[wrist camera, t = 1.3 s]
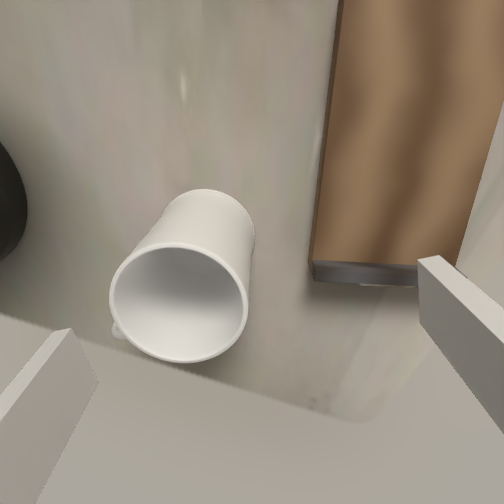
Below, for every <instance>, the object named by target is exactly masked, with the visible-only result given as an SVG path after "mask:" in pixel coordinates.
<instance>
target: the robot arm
mask: <svg viewBox="0 0 504 504" xmlns="http://www.w3.org/2000/svg"><path fill="white" fill-rule="evenodd" d="M26 216H27V203H26V195H25V191H24V186H23V183H22V180H21V177H20V175H19V172H18V170H17V168H16V166H15V164H14V162H13V160H12V159H11V157H10V155H9V154H8V152H7V151H6V149H5V148H4V147H3V145H2V144H1V143H0V260H2V259H3V258H5V257H6V256H7V255H8V254H9V253H10V252H11V251H12V250H13V249H14V248H15V247H16V245H17V244H18V242H19V240H20V238H21V236H22V234H23V231H24V228H25V223H26ZM417 266H418V289H419V313H420V324H421V325H422V326H423V328H424V329H425V330H426V332H427V333H428V334H429V336H430V337H431V338H432V340H433V341H434V342H435V344H436V345H437V346H438V347H439V349H440V350H441V351H442V353H443V354H444V355H445V356H446V358H447V359H448V361H449V362H450V363H451V365H452V366H453V367H454V369H455V370H456V371H457V373H458V374H459V375H460V377H461V378H462V379H463V381H464V382H465V383H466V385H467V386H468V387H469V389H470V390H471V391H472V393H473V394H474V395H475V397H476V398H477V399H478V400H479V402H480V403H481V404H482V406H483V407H484V408H485V410H486V411H487V412H488V414H489V415H490V416H491V418H492V419H493V420H494V422H495V423H496V424H497V426H498V427H499V428H500V430H501V431H502V432H503V434H504V309H503V308H502V307H500V306H499V305H498V304H497V303H496V302H495V301H493V300H492V299H491V298H490V297H489V296H487V295H486V294H485V293H484V292H483V291H481V290H480V289H479V288H478V287H477V286H475V285H474V284H473V283H472V282H471V281H469V280H468V279H467V278H466V277H465V276H463V275H462V274H461V273H460V272H459V271H457V270H456V269H455V268H454V267H453V266H452V265H450V264H449V263H448V262H447V261H446V260H444V259H443V258H442V257H441V256H440V255H437V256H432V257H427V258H422V259H417ZM98 383H99V381H98V379H97V377H96V375H95V373H94V371H93V369H92V367H91V365H90V363H89V361H88V360H87V357H86V355H85V353H84V351H83V349H82V348H81V345H80V343H79V341H78V339H77V338H76V336H75V334H74V332H73V330H72V328H68V329H63V330H58V331H53V332H52V334H51V335H50V336H49V337H48V338H47V339H46V341H45V342H44V343H43V344H42V346H41V347H40V348H39V349H38V350H37V351H36V353H35V354H34V355H33V357H32V358H31V359H30V360H29V361H28V362H27V364H26V365H25V366H24V367H23V368H22V370H21V371H20V372H19V373H18V374H17V376H16V377H15V378H14V379H13V380H12V382H11V383H10V384H9V385H8V387H7V388H6V389H5V390H4V391H3V392H2V394H1V395H0V504H35V503H36V502H37V500H38V498H39V496H40V494H41V492H42V490H43V488H44V486H45V484H46V482H47V480H48V479H49V477H50V475H51V473H52V471H53V469H54V467H55V465H56V463H57V461H58V459H59V458H60V456H61V454H62V452H63V450H64V448H65V446H66V444H67V442H68V440H69V438H70V436H71V434H72V433H73V431H74V429H75V427H76V425H77V423H78V421H79V419H80V417H81V415H82V414H83V412H84V410H85V408H86V406H87V404H88V402H89V400H90V398H91V396H92V394H93V392H94V391H95V389H96V387H97V385H98Z"/></svg>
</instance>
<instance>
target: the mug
mask: <svg viewBox="0 0 504 504" xmlns="http://www.w3.org/2000/svg"><path fill="white" fill-rule="evenodd" d="M254 244H255V231H254V226H253V223H252V220H251V218H250V216H249V214H248V213H247V211H246V210H245V209H244V207H243V206H242V205H241V204H240V203H239V202H238V201H236V200H235V199H234V198H232V197H230V196H229V195H227V194H225V193H222V192H219V191H216V190H210V189H198V190H192V191H188V192H186V193H183V194H181V195H179V196H178V197H176V198H175V199H173V200H172V201H171V202H170V203H169V204H168V205H167V207H166V208H165V209H164V211H163V213H162V215H161V217H160V219H159V221H158V222H157V223H156V224H155V225H154V226H153V228H152V229H151V230H150V231H149V232H148V233H147V235H146V236H145V237H144V238H143V239H142V240H141V242H140V243H139V244H138V245H137V246H136V247H135V249H134V250H133V251H132V252H131V253H130V254H129V256H128V257H127V258H126V259H125V260H124V261H123V263H122V264H121V265H120V266H119V268H118V269H117V271H116V273H115V275H114V277H113V279H112V282H111V286H110V291H109V303H110V309H111V313H112V316H113V319H114V321H115V322H114V324H113V326H112V329H111V333H112V335H113V337H114V338H115V339H117V340H128V341H129V342H130V343H132V344H133V345H134V346H135V347H137V348H138V349H139V350H141V351H143V352H144V353H146V354H148V355H150V356H152V357H155V358H157V359H161V360H164V361H168V362H174V363H195V362H201V361H205V360H208V359H211V358H213V357H216V356H218V355H220V354H221V353H223V352H224V351H226V350H227V349H228V348H230V347H231V346H232V345H233V344H234V343H235V342H236V340H237V339H238V338H239V336H240V335H241V333H242V331H243V329H244V327H245V324H246V321H247V316H248V306H249V288H250V269H251V255H252V252H253V249H254Z"/></svg>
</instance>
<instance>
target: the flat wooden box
mask: <svg viewBox="0 0 504 504" xmlns="http://www.w3.org/2000/svg"><path fill="white" fill-rule="evenodd" d="M503 100H504V0H339V4H338V13H337V21H336V30H335V38H334V46H333V55H332V63H331V72H330V80H329V89H328V97H327V105H326V114H325V122H324V131H323V139H322V148H321V156H320V164H319V173H318V181H317V190H316V198H315V206H314V215H313V223H312V232H311V240H310V249H309V257H308V264H309V267H310V270H311V272H312V275H313V279H314V281H320V282H339V283H358V284H360V285H364V286H384V287H403V288H415V287H418V266H417V259H422V258H427V257H432V256H437V255H440V256H441V257H442V258H443V259H444V260H446V261H447V262H448V263H449V264H450V265H452V266H453V267H454V268H455V265H456V262H457V258H458V255H459V251H460V248H461V244H462V241H463V238H464V234H465V231H466V227H467V224H468V220H469V217H470V214H471V210H472V207H473V203H474V200H475V196H476V193H477V190H478V186H479V183H480V179H481V176H482V172H483V169H484V166H485V162H486V159H487V155H488V152H489V148H490V145H491V142H492V138H493V135H494V131H495V128H496V124H497V121H498V118H499V114H500V111H501V107H502V104H503ZM455 269H456V268H455ZM456 270H457V271H459V270H458V269H456ZM459 272H460V271H459ZM460 273H461V272H460ZM461 274H462V273H461ZM462 275H463V276H465V275H464V274H462ZM465 277H466V276H465ZM466 278H467V277H466Z"/></svg>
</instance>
